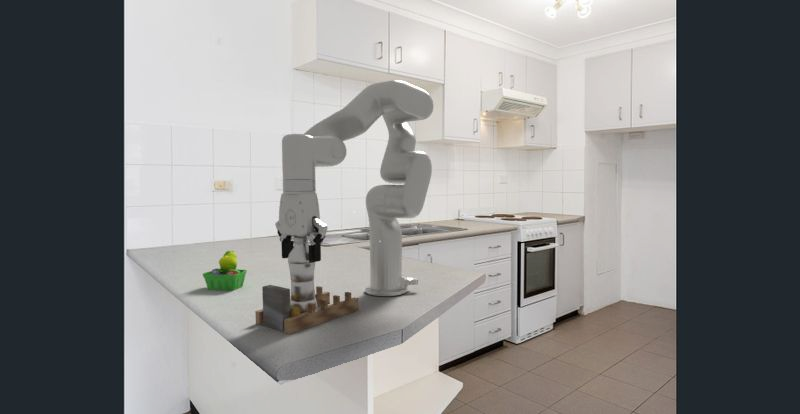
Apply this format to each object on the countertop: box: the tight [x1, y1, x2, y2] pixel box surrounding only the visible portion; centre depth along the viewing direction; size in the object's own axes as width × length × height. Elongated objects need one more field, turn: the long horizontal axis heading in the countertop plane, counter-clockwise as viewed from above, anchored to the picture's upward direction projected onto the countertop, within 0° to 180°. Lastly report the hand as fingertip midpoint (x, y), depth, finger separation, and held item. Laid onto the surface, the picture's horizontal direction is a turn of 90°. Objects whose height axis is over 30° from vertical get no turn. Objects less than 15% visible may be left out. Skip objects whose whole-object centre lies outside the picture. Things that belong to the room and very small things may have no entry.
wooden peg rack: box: [255, 284, 360, 335], centre depth 106 cm, size 22×12×9 cm, turn 143°
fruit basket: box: [202, 250, 248, 291], centre depth 137 cm, size 11×9×11 cm
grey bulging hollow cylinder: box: [287, 236, 318, 314], centre depth 104 cm, size 6×7×20 cm
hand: (301, 259), depth 104 cm, fingers open, 9 cm apart
